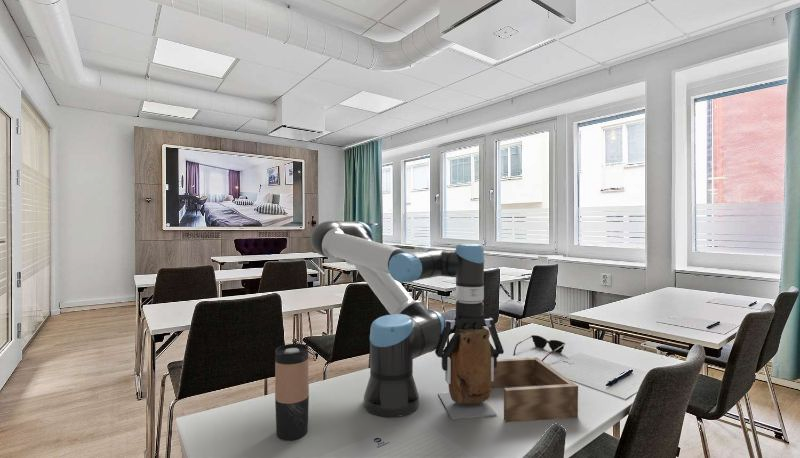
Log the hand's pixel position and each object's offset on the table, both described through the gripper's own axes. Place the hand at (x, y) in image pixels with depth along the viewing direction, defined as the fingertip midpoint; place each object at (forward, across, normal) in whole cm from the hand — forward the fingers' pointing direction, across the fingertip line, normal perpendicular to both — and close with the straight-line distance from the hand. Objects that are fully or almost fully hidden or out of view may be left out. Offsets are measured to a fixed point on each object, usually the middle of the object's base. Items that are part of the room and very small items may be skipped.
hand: (469, 380), depth 105 cm
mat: (+7, -1, 0) cm, 7 cm away
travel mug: (+7, -46, -8) cm, 47 cm away
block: (+5, 0, 0) cm, 5 cm away
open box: (+7, +16, 0) cm, 17 cm away
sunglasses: (+7, +38, +35) cm, 53 cm away
